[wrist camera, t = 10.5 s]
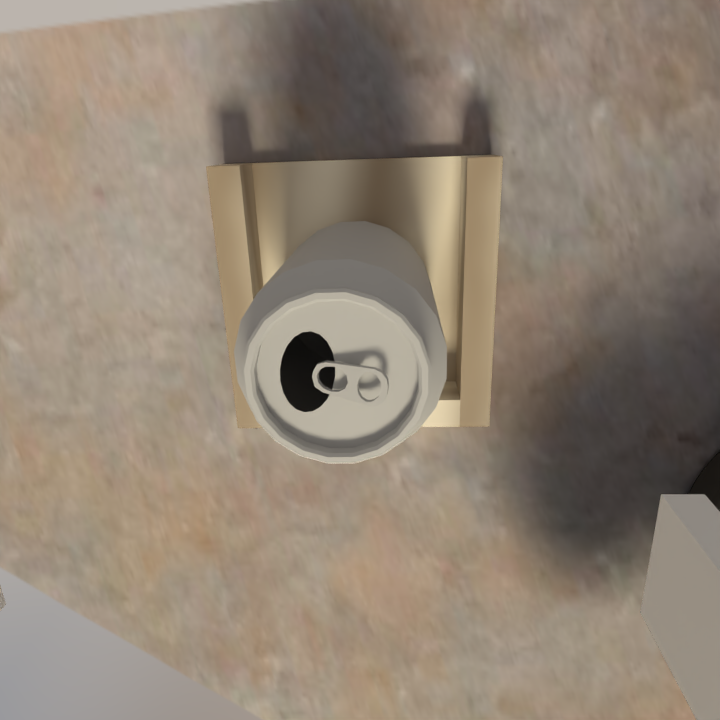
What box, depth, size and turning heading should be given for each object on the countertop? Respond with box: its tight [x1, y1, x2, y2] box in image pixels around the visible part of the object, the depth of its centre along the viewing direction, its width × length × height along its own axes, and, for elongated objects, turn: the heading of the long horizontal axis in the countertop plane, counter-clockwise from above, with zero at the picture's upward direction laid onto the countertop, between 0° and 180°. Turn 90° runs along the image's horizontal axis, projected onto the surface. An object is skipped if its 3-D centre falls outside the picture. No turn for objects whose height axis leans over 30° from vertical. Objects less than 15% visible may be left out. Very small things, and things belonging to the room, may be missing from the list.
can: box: [234, 221, 447, 464], centre depth 24 cm, size 8×8×12 cm
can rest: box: [206, 155, 503, 428], centre depth 29 cm, size 13×13×3 cm
